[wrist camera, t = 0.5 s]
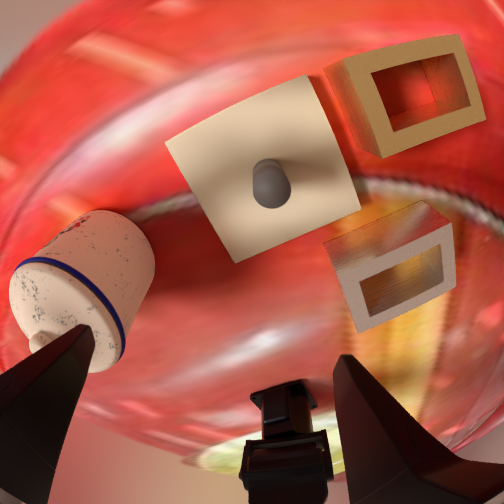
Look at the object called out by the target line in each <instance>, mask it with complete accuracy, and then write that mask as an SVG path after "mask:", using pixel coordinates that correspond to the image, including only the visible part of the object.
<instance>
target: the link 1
mask: <svg viewBox="0 0 504 504" xmlns="http://www.w3.org/2000/svg"><path fill="white" fill-rule="evenodd" d="M417 60H420V61H421V64H422V66H423V69H424V72H425V74H426V77H427V79H428V82H429V85H430V88H431V91H432V94H433V97H434V100H435V102H433V103H430V104H427V105H424V106H420V107H417V108H414V109H411V110H408V111H405V112H402V113H400V114H397V115H394V116H391V117H388V116H387V113H386V110H385V107H384V105H383V102H382V100H381V97H380V95H379V92H378V90H377V87H376V85H375V82H374V80H373V78H372V75H371V73H372V72H376V71H379V70H382V69H386V68H390V67H393V66H397V65H401V64H405V63H409V62H413V61H417ZM323 70H324V72H325V74H326V76H327V78H328V80H329V82H330V84H331V86H332V89H333V91H334V93H335V95H336V97H337V100H338V102H339V104H340V106H341V109H342V111H343V113H344V116H345V118H346V121H347V123H348V126H349V128H350V131H351V133H352V136H353V138H354V141H355V143H356V146H357V147H358V148H360V149H363V150H365V151H367V152H369V153H371V154H374V155H376V156H378V157H380V158H382V159H383V158H386V157H388V156H391V155H393V154H396V153H398V152H401V151H403V150H406V149H408V148H411V147H414V146H416V145H419V144H421V143H424V142H427V141H429V140H432V139H434V138H437V137H440V136H442V135H445V134H448V133H450V132H453V131H456V130H459V129H461V128H464V127H467V126H470V125H472V124H475V123H478V122H481V121H484V120H486V117H485V112H484V108H483V104H482V100H481V97H480V93H479V90H478V86H477V83H476V80H475V77H474V73H473V70H472V67H471V65H470V62H469V59H468V56H467V54H466V51H465V48H464V46H463V43H462V41H461V38H460V36H459V34H454V35H446V36H439V37H433V38H427V39H421V40H416V41H411V42H406V43H401V44H397V45H392V46H388V47H384V48H380V49H376V50H372V51H368V52H365V53H361V54H358V55H354V56H351V57H348V58H344V59H342V60H339V61H337V62H335V63H333V64H331V65H329V66H327V67H325V68H323Z"/></svg>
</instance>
